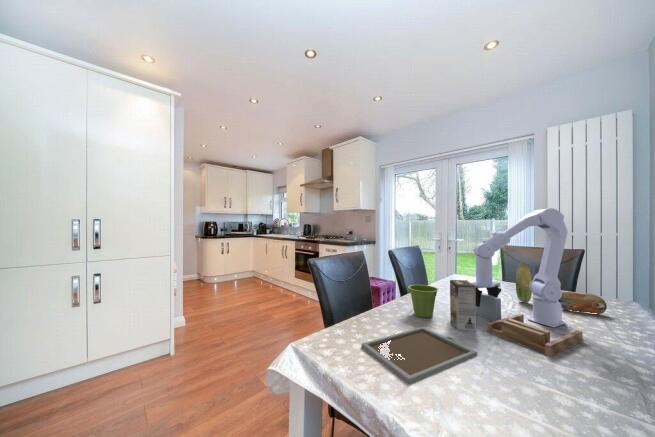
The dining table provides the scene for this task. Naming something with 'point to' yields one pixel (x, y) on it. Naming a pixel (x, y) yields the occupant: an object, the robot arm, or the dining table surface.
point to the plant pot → (423, 299)
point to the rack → (549, 347)
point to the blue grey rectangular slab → (489, 307)
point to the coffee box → (463, 304)
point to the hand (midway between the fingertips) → (484, 305)
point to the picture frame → (419, 353)
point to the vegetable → (523, 282)
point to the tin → (582, 302)
